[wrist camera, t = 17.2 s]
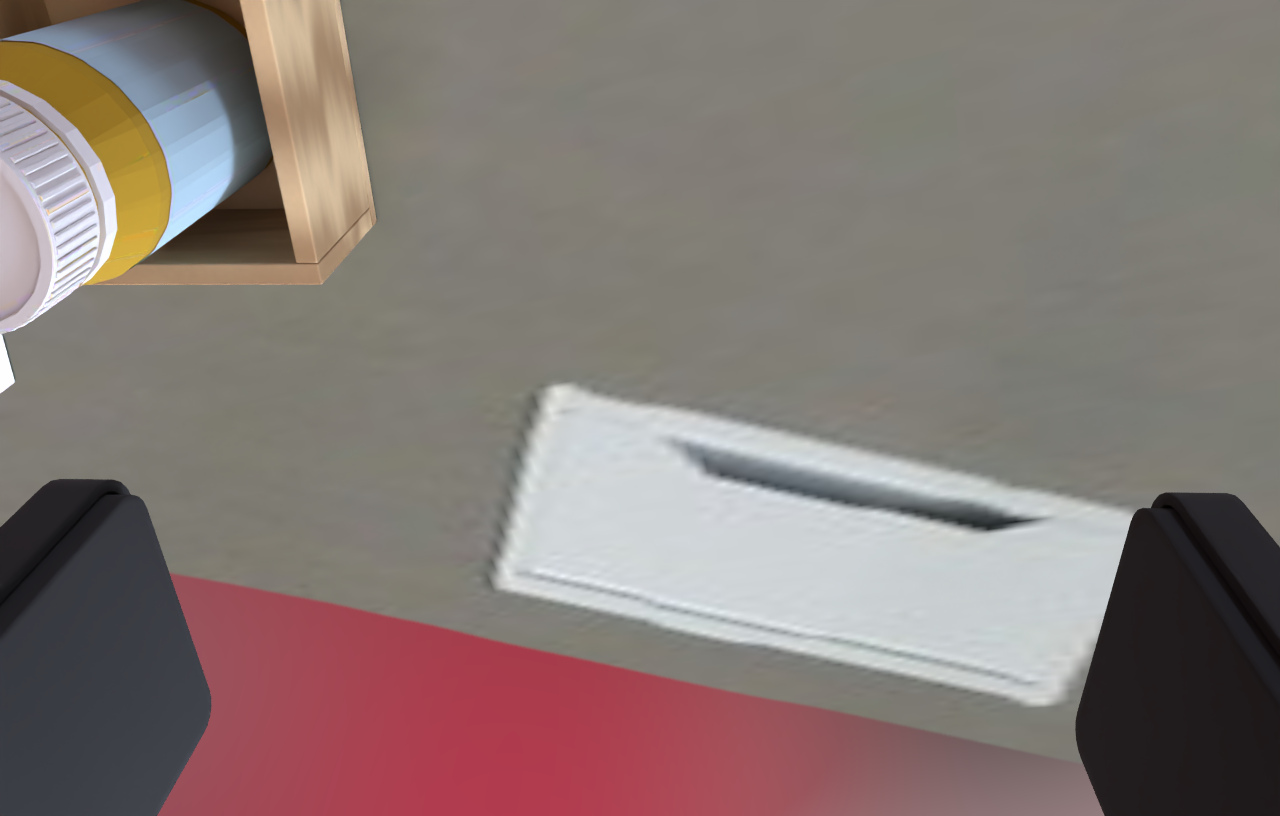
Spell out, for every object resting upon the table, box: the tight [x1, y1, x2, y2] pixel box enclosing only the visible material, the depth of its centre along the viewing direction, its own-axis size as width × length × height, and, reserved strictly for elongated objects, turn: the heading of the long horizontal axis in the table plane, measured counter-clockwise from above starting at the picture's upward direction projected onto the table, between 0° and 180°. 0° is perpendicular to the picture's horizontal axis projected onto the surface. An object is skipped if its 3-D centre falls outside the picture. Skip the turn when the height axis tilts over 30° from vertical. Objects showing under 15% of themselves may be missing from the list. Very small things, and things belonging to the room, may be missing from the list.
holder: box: [0, 0, 377, 285], centre depth 34 cm, size 12×12×7 cm
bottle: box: [0, 0, 273, 334], centre depth 30 cm, size 7×7×15 cm
